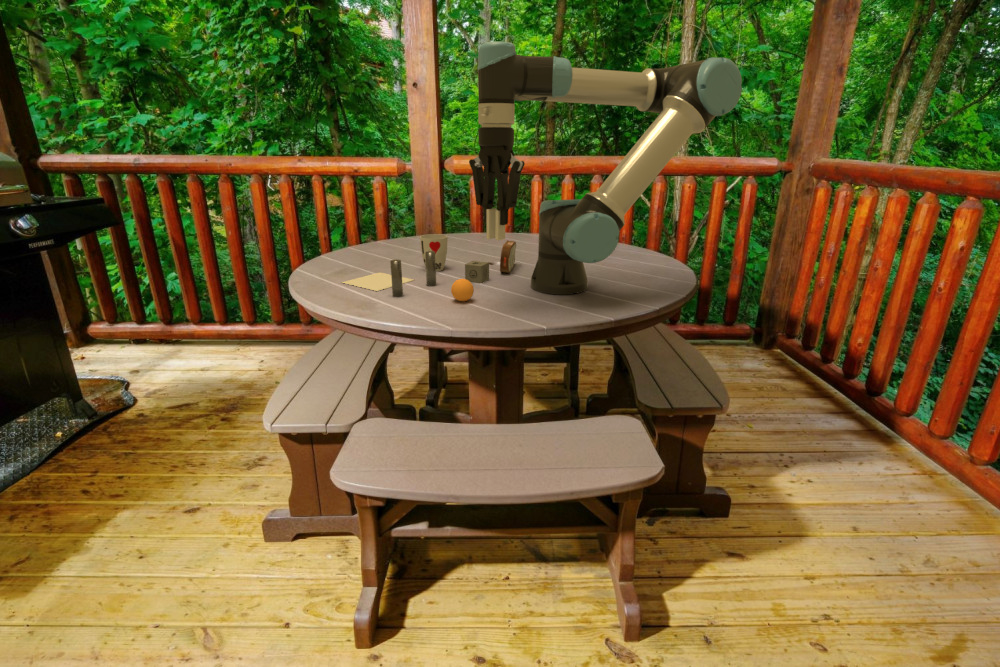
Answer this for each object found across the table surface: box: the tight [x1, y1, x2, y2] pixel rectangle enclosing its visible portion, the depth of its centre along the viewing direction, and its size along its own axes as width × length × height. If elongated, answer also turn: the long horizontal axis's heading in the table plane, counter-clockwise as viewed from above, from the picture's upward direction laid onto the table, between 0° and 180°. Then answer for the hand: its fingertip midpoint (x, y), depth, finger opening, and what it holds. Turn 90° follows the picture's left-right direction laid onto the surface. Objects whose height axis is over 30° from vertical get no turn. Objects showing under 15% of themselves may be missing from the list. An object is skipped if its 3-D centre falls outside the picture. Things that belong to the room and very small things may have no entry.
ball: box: [450, 278, 475, 302], centre depth 129 cm, size 6×6×6 cm
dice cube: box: [464, 260, 490, 284], centre depth 147 cm, size 5×5×5 cm
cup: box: [419, 233, 448, 272], centre depth 158 cm, size 8×8×10 cm
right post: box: [425, 251, 437, 287], centre depth 142 cm, size 3×3×9 cm
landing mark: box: [341, 271, 415, 292], centre depth 146 cm, size 14×14×1 cm
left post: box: [389, 259, 404, 298], centre depth 132 cm, size 3×3×9 cm
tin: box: [499, 240, 517, 274], centre depth 158 cm, size 15×3×8 cm, turn 170°
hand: (495, 238), depth 119 cm, fingers open, 2 cm apart
